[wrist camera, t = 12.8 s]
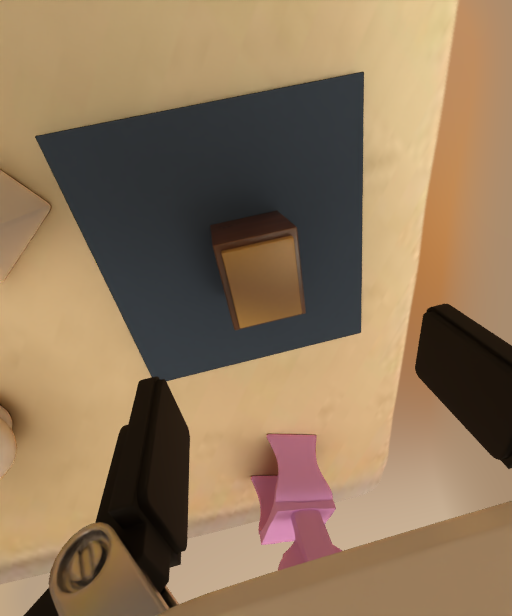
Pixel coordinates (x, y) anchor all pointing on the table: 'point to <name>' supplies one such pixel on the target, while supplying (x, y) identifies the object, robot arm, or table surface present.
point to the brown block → (259, 268)
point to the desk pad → (220, 215)
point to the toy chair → (295, 501)
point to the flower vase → (6, 442)
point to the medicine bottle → (17, 220)
